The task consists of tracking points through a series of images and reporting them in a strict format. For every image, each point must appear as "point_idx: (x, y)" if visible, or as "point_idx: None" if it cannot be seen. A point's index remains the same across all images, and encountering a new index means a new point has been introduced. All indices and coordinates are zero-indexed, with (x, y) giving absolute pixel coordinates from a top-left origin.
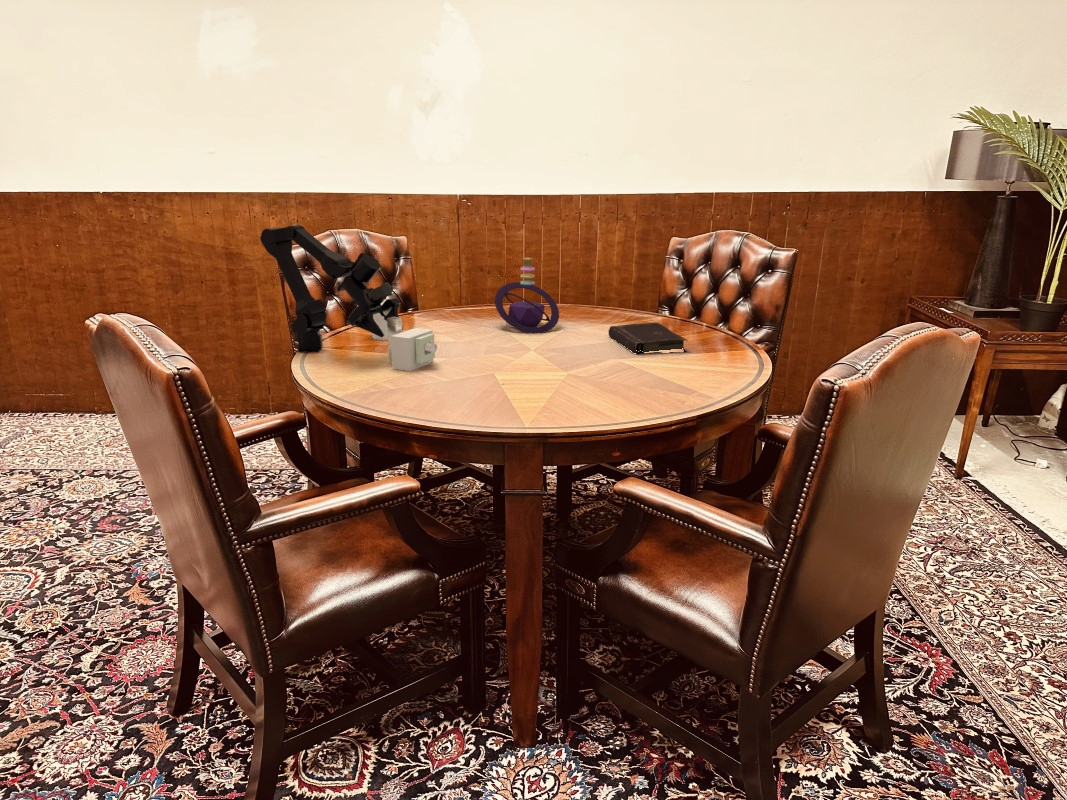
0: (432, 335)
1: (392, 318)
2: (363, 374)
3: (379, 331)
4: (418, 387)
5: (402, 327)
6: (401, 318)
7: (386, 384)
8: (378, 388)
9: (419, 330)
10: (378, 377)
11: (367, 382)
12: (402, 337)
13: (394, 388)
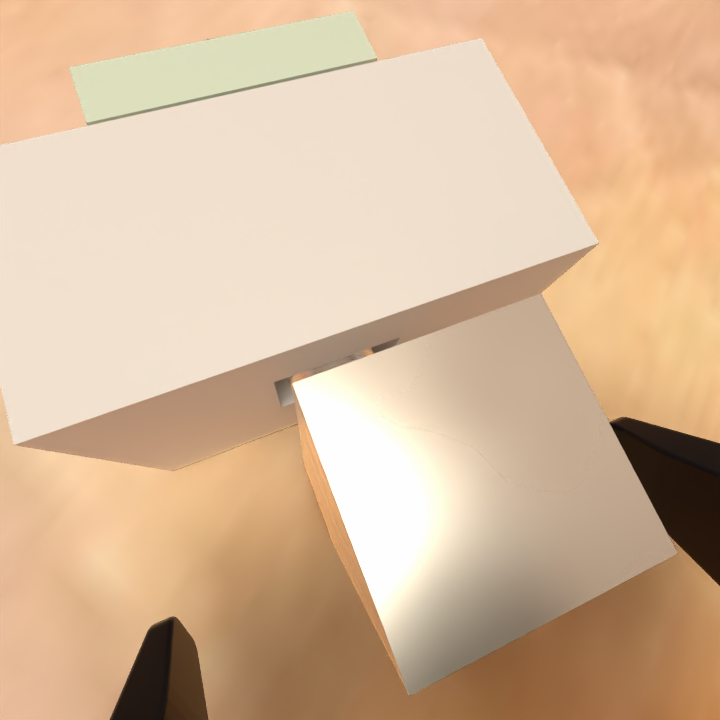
0: (112, 64)
1: (554, 438)
2: (663, 376)
3: (705, 450)
4: (516, 14)
5: (148, 644)
6: (300, 386)
7: (623, 139)
8: (679, 116)
9: (104, 257)
10: (610, 264)
11: (694, 227)
12: (515, 105)
13: (615, 71)
